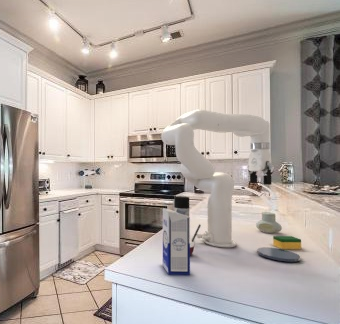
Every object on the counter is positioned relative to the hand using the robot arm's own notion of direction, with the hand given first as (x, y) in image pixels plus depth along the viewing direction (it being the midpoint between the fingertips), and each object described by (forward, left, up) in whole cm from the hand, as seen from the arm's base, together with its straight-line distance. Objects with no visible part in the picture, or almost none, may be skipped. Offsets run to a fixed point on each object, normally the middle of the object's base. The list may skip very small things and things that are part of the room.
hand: (260, 183), depth 117 cm
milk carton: (-51, -36, -26) cm, 68 cm away
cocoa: (-42, -21, -26) cm, 54 cm away
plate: (-8, -22, -26) cm, 35 cm away
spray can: (-37, -1, -26) cm, 46 cm away
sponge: (+4, -10, -26) cm, 28 cm away
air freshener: (+14, +15, -26) cm, 34 cm away
